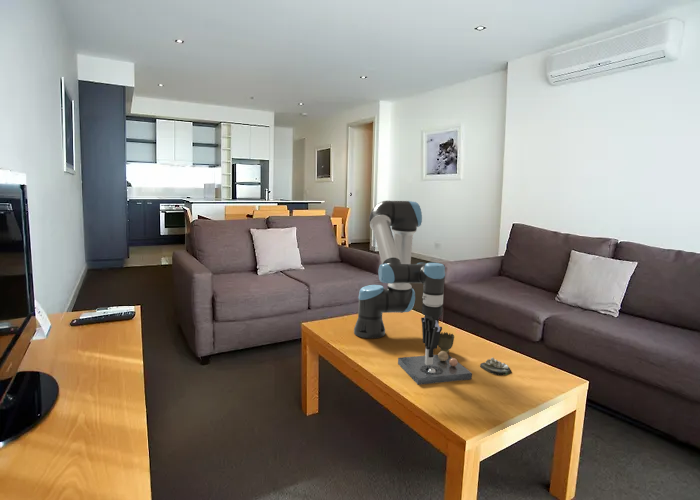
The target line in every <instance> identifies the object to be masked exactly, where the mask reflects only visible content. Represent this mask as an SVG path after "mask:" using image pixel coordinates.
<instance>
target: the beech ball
mask: <svg viewBox="0 0 700 500" xmlns="http://www.w3.org/2000/svg"><path fill="white" fill-rule="evenodd" d="M437 355H438V358H439V360H441V361H446V360H447V359H448V355H449V353H447V352H445V351H440V352H438V354H437Z"/></svg>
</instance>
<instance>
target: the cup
mask: <svg viewBox="0 0 700 500" xmlns="http://www.w3.org/2000/svg"><path fill="white" fill-rule="evenodd" d="M454 341H455V335H454V334H453V333H451V332H449V333H448V332H446V331H444V332H443V331H441V333H440V338H439V342H438V348H439V349H440V352H441V351H445V352H447V354H449V352H450V350H451V349H452V348H453V346H454Z"/></svg>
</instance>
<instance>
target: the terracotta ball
mask: <svg viewBox="0 0 700 500" xmlns="http://www.w3.org/2000/svg"><path fill="white" fill-rule="evenodd" d="M458 363H459V362H458V359H456V358H455V357H452V358H451V359H450V360H449V364H450V365H451V366H453V367H455V366H456V365H457V364H458Z"/></svg>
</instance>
